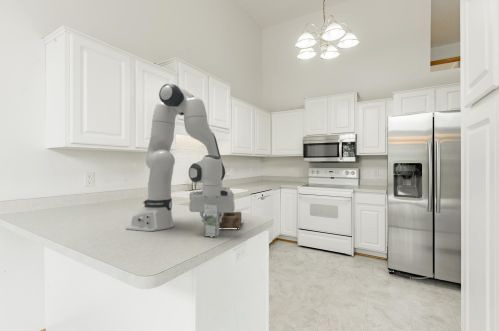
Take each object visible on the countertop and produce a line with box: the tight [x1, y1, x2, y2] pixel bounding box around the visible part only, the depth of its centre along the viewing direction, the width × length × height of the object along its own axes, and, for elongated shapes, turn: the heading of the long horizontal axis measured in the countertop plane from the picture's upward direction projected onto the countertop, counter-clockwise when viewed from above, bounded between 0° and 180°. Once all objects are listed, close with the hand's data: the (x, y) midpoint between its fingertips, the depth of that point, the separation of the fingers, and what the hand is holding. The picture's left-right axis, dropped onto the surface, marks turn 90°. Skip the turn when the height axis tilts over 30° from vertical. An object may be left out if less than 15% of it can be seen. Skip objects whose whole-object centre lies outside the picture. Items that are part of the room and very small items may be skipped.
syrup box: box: [203, 204, 220, 237], centre depth 107 cm, size 6×6×14 cm
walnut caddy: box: [219, 211, 242, 229], centre depth 124 cm, size 14×14×6 cm
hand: (212, 221), depth 107 cm, fingers closed on syrup box, 6 cm apart
